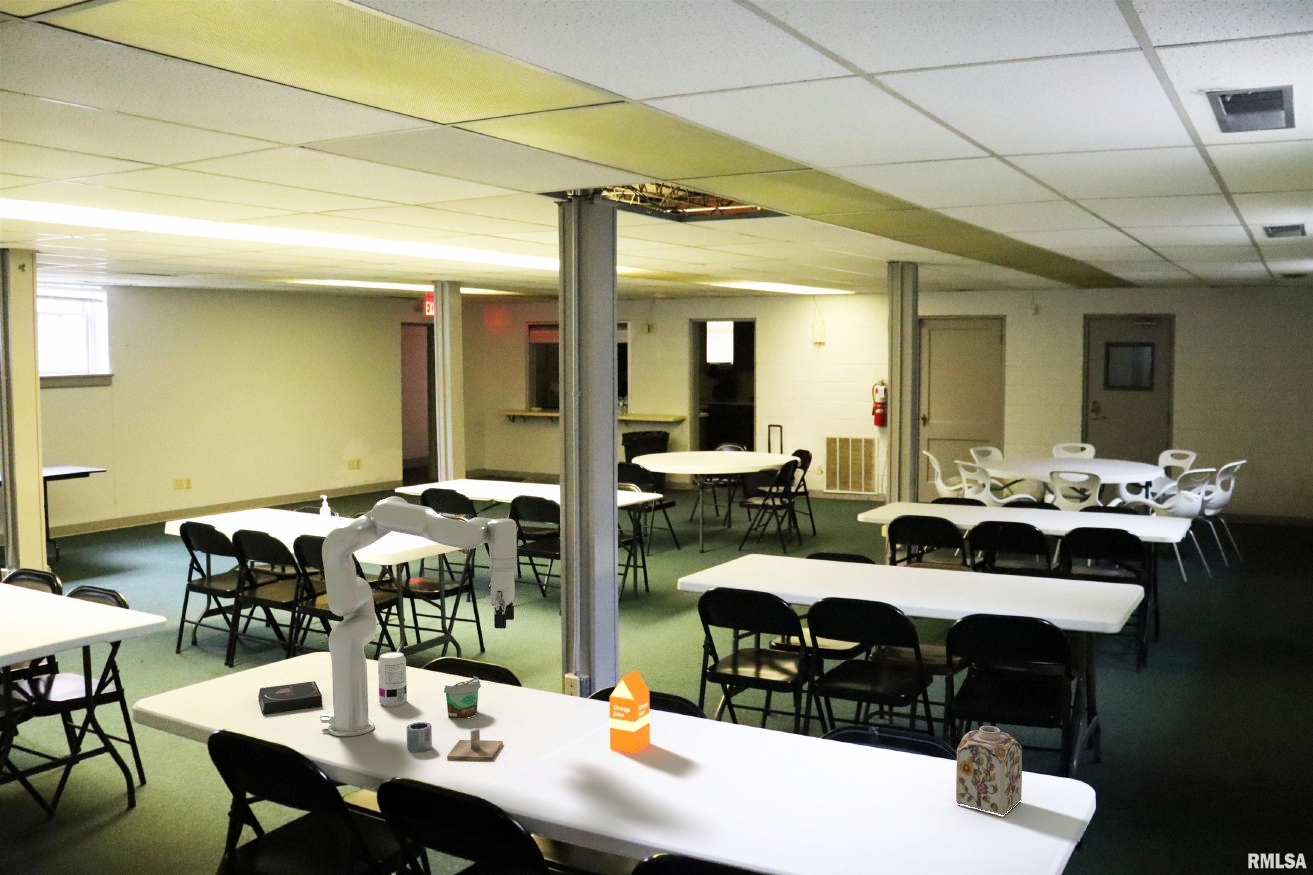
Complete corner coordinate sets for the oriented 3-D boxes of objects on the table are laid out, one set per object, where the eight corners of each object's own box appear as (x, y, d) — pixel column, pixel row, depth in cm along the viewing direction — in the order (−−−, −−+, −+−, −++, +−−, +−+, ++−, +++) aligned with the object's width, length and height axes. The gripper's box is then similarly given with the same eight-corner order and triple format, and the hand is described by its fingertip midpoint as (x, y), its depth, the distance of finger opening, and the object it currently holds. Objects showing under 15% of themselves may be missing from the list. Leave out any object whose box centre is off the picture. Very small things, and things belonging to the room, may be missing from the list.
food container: (458, 723, 307) (458, 689, 307) (444, 719, 311) (443, 685, 310) (489, 711, 317) (489, 679, 317) (475, 708, 321) (475, 675, 320)
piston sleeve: (404, 751, 285) (403, 729, 285) (411, 743, 291) (411, 721, 291) (427, 752, 284) (426, 730, 284) (434, 743, 291) (434, 722, 290)
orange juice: (609, 749, 286) (608, 676, 284) (625, 738, 294) (624, 667, 292) (635, 753, 282) (634, 680, 281) (650, 743, 290) (650, 671, 289)
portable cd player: (258, 700, 331) (257, 688, 331) (315, 693, 338) (314, 681, 338) (262, 716, 316) (262, 703, 316) (322, 708, 323) (321, 695, 323)
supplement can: (374, 706, 324) (372, 657, 323) (388, 697, 332) (387, 650, 330) (397, 708, 321) (396, 659, 320) (411, 700, 329) (410, 652, 328)
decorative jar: (974, 789, 257) (975, 716, 256) (1022, 802, 249) (1023, 727, 248) (954, 805, 248) (955, 730, 246) (1003, 819, 240) (1004, 741, 239)
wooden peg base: (447, 759, 279) (446, 737, 279) (459, 743, 291) (459, 721, 291) (492, 760, 278) (491, 738, 278) (502, 744, 290) (502, 722, 290)
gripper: (497, 557, 305) (498, 616, 306) (482, 569, 287) (483, 631, 289) (523, 557, 304) (524, 616, 305) (509, 569, 287) (510, 631, 288)
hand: (504, 623), depth 297 cm, fingers open, 9 cm apart
